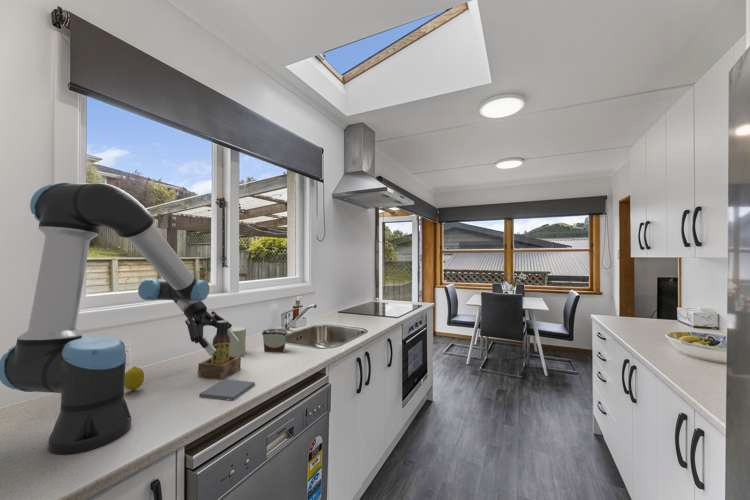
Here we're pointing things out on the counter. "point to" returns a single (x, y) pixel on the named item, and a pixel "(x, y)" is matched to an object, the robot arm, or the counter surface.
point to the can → (240, 345)
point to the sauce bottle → (221, 344)
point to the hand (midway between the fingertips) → (225, 347)
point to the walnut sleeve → (219, 368)
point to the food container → (274, 340)
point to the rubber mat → (227, 389)
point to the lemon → (133, 378)
